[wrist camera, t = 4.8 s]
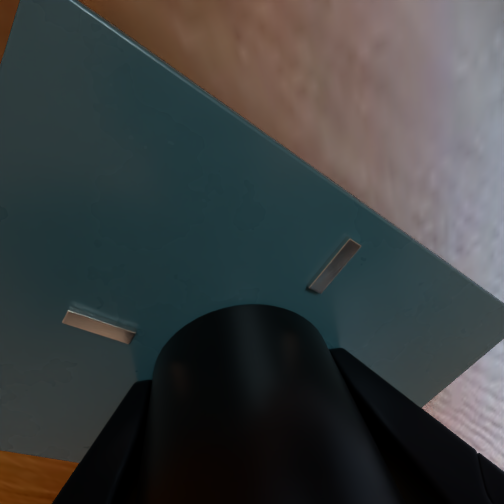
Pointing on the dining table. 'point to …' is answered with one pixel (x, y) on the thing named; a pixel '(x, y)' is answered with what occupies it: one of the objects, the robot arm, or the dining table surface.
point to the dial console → (181, 237)
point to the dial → (256, 418)
